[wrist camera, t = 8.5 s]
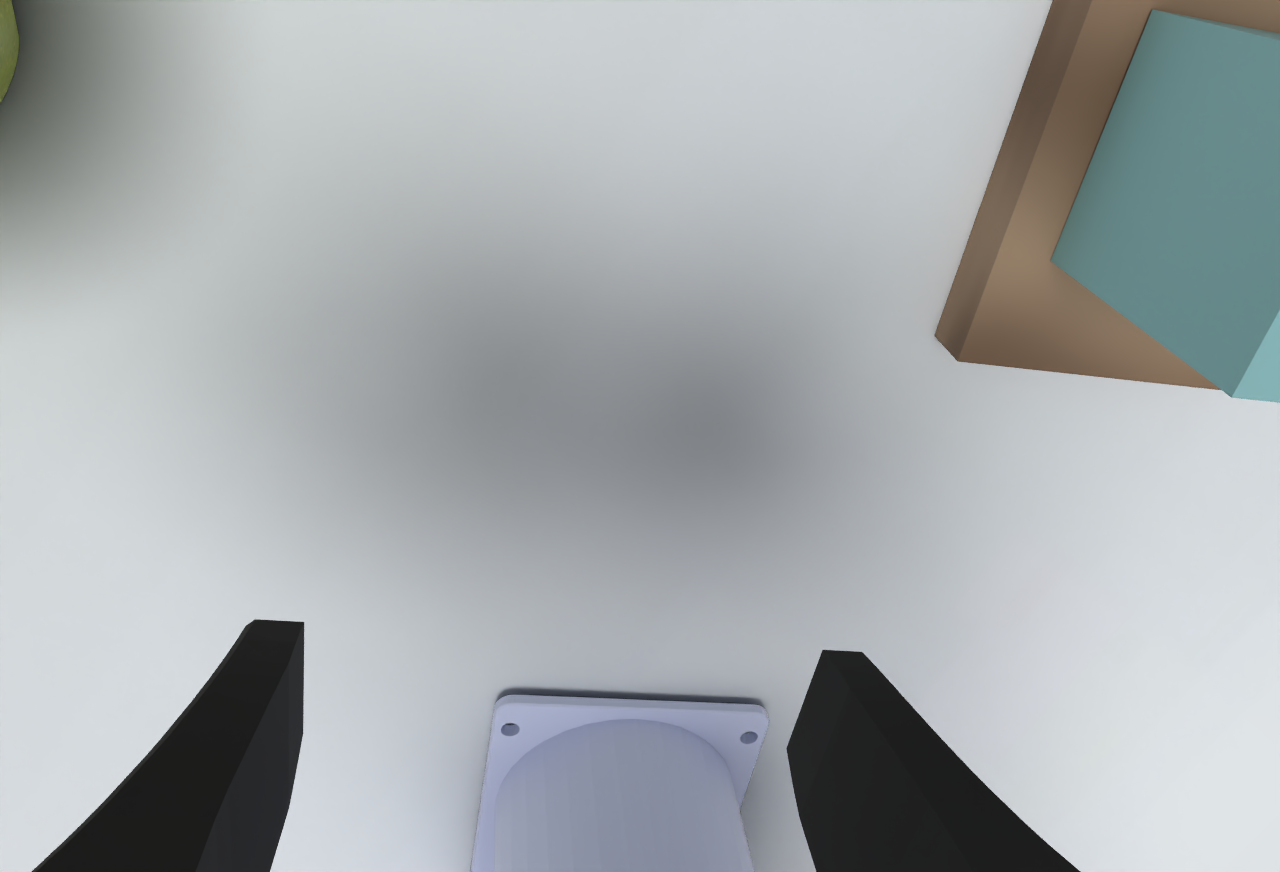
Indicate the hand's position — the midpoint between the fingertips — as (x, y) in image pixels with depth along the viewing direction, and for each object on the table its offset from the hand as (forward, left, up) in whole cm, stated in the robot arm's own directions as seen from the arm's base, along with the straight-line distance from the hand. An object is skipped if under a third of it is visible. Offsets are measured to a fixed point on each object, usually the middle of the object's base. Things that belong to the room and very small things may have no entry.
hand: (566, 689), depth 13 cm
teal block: (+7, -13, -8) cm, 17 cm away
